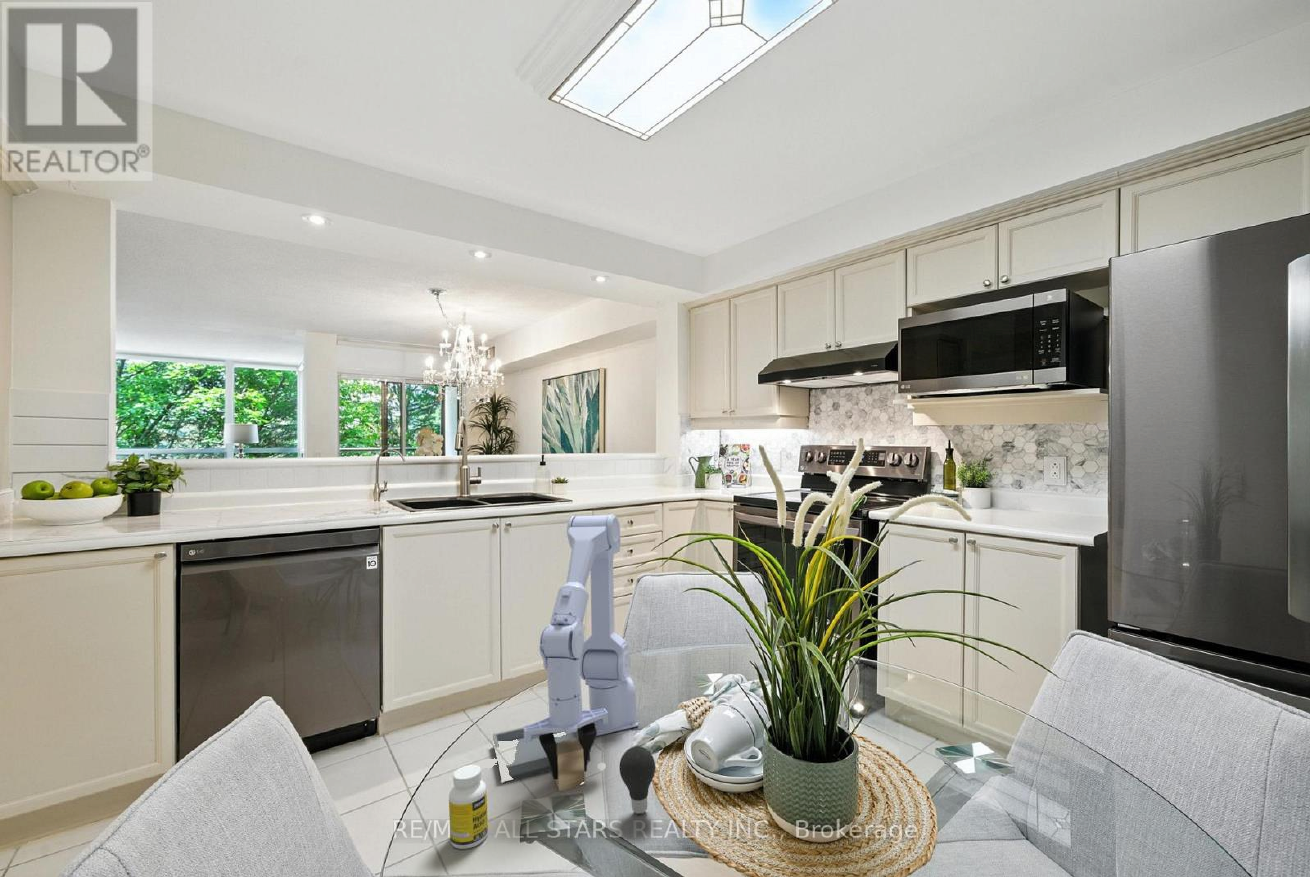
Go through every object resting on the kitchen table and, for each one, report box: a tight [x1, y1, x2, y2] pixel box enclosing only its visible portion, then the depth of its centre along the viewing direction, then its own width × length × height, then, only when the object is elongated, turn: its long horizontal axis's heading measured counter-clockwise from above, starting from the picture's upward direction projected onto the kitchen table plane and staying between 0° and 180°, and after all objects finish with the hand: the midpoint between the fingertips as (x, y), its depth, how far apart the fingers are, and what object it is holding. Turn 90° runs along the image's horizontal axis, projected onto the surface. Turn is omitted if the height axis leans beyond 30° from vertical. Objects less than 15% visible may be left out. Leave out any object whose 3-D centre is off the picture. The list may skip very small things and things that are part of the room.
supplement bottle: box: [448, 764, 489, 850], centre depth 85 cm, size 5×5×10 cm
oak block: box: [554, 738, 586, 792], centre depth 99 cm, size 4×4×6 cm
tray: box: [492, 727, 591, 781], centre depth 109 cm, size 16×14×2 cm
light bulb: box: [618, 745, 656, 815], centre depth 89 cm, size 6×6×10 cm
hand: (569, 772), depth 99 cm, fingers closed on oak block, 4 cm apart
